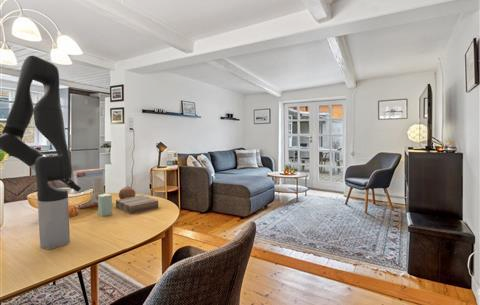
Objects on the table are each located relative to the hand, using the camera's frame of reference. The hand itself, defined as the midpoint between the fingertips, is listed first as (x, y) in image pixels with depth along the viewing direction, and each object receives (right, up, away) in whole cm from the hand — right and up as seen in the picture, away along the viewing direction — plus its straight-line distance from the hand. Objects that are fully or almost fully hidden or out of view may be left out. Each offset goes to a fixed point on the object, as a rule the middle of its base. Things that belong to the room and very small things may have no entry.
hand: (76, 188), depth 125 cm
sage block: (+9, -15, +10) cm, 20 cm away
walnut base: (+20, -14, +23) cm, 33 cm away
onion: (+9, -13, +36) cm, 39 cm away
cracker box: (-8, -14, +26) cm, 30 cm away
